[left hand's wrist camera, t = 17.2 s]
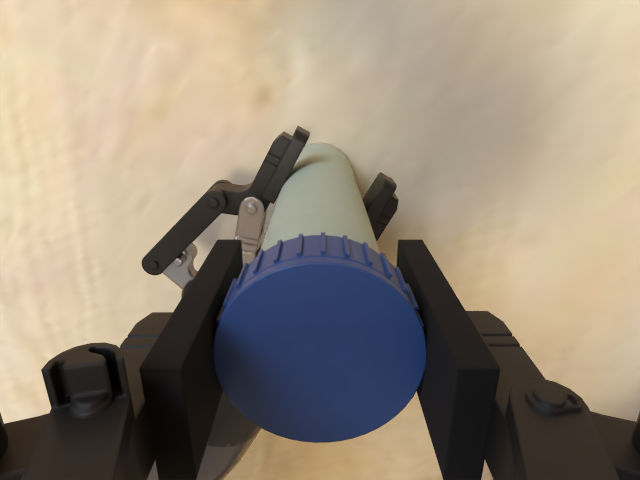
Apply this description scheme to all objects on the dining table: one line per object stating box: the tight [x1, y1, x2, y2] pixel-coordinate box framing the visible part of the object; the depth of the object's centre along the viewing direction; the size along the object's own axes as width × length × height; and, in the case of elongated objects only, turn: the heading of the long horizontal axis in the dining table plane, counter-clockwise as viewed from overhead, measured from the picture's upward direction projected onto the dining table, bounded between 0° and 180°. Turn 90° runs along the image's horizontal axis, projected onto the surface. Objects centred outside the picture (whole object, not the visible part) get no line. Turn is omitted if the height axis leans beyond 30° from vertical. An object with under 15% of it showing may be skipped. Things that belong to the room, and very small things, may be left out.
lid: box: [213, 232, 427, 443], centre depth 11 cm, size 5×5×2 cm
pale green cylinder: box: [261, 143, 381, 255], centre depth 20 cm, size 4×4×19 cm
